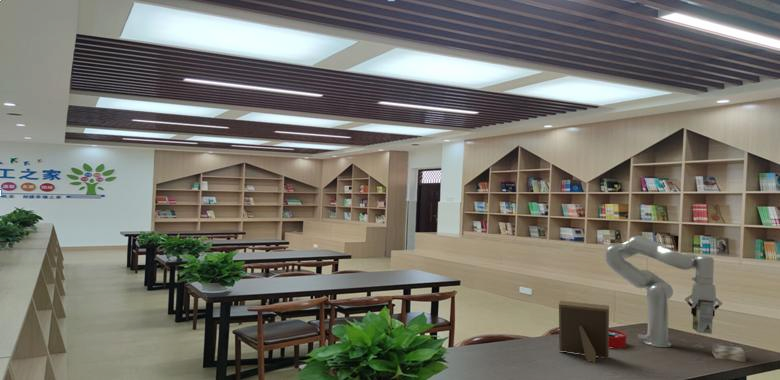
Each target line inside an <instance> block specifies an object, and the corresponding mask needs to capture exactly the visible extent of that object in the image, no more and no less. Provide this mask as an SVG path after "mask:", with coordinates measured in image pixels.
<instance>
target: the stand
mask: <svg viewBox="0 0 780 380" xmlns="http://www.w3.org/2000/svg"><path fill="white" fill-rule="evenodd" d="M711 353H712V355H713V356H714V358H715V359H719V360H720V359H721V360H727V361H736V362H745V363H746V358H747V356H746V352H745V350H743V349H742V347H739V346H738V347H737V346H728V345H719V344H711Z"/></svg>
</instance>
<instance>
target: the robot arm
mask: <svg viewBox="0 0 780 380" xmlns="http://www.w3.org/2000/svg"><path fill="white" fill-rule="evenodd" d="M637 254H640V255H644V256H645V257H647V258H652V259H655V260H657V261H658V262H661V263H664V264H665V265H668V266H671V267H673V268H677V269H679V270H683V271H685V270H686V271H687V270H691V269H693V270H694V269H695V276H694V277H692V279H691V281H693V284H692V290H691V294H690V295H689V296H687V297H685V298H684V300H685V302H686V303H687V304H688V306H689V307H691V311H690V312H691V313H690V314H691V315H692V317H693V316H695V305H696V304H698V300H707V301H713V318H715V314H716V313H715V311H716V310H717V309H719V308H720V307H721V306H722V305H723V302H722V301H721V300H719V299H718V298H717V293H716V285H715V284H714V266H715V264H714V262H715V261H714V260H715V259H714V258H713V257H712V256H708V255H706V256H705V255H695V254H690V253H684V254H683V253H681V252H677V251H674V250H671V249H670V248H667V247H666V246H665V245H664V244H662V243H659V242H656V241H653V240H650V239H648V238H647V237H646V236H644V235H635V236H632V237H630V238H629V239H628V240H627V241H625V242H623V243H619V244H618V243H617V244H616V243H615V244H612V245H610V246H608V247H607V249H606V250H605V260H606V261H605V262H606V263H607V265H608V266H609V268H611V270H612V271H614V272H615V273H616V274H618V275H619V276H621V277H622V278H623V279H625V280H626V281H627V282H629V283H630V284H632V285H633V286H634V287H635V288H638V289H645V290H647V291H646V300H647V302H646V303H647V333H646V334H639V333H638V334H637V338H638V339H640V340H641V339H642V340H644V341H643V342H644V344H645V345H647V346H651V347H657V348H658V347H659V348H670V347H672V343H671V342H670V341H669V305H668V300H669V299H671V298H672V297H673V294H674V289H673V287H672V286H671V284H669V283H668V282H667V281H665V280H664V279H662V278H661V277H659V276H658V275H657V274H655V273H653V272H652V271H650V270H648V269H639V268H638V267H637V266H635V265H633V264H632V263H630V262H629V261H627V260H625V259H628V258H630V257H633V256H636V255H637ZM690 300H691V301H690Z"/></svg>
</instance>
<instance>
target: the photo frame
mask: <svg viewBox="0 0 780 380" xmlns="http://www.w3.org/2000/svg"><path fill="white" fill-rule="evenodd" d="M609 329H610V305H606V304H595V303H586V302H575V301H566V300H559V303H558V335H559V336H558V340H559V341H558V342H559V344H558V345H559V346H558V347H559V348H558V350H560V351H567V352H574V353H580V354H585V356H584V357H585V360H586V359H587V360H590V361H593V362H595V363H596V358H597V357H596V356H598V357H604V358H608V359H609V352H610V351H609V349H610V348H609ZM604 358H603V359H604ZM590 361H589V362H590ZM593 362H592V363H593Z"/></svg>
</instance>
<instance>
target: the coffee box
mask: <svg viewBox="0 0 780 380" xmlns="http://www.w3.org/2000/svg"><path fill="white" fill-rule="evenodd" d="M713 320H714V317H713V301H707V300H698V304H696V305H695V316H693V315H692V327H691V328H692V329H693V330H694V331H695V332H697V333H698V334H706V335H712V334H713Z"/></svg>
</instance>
